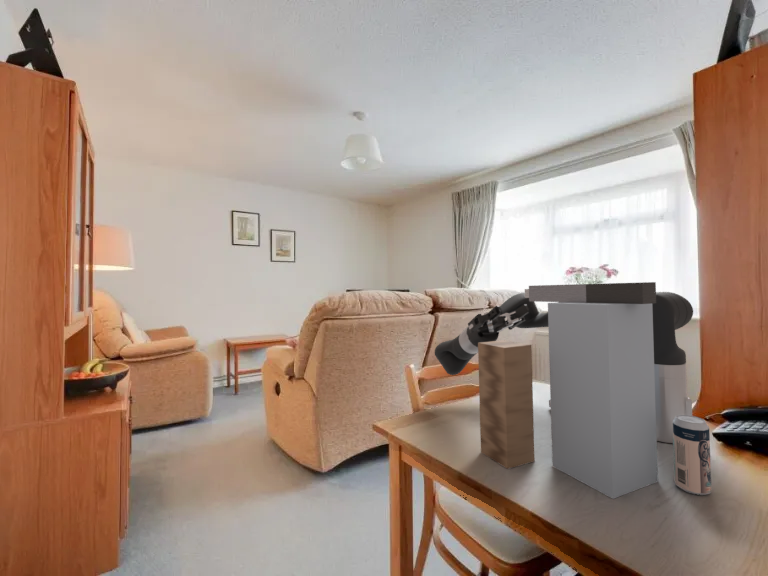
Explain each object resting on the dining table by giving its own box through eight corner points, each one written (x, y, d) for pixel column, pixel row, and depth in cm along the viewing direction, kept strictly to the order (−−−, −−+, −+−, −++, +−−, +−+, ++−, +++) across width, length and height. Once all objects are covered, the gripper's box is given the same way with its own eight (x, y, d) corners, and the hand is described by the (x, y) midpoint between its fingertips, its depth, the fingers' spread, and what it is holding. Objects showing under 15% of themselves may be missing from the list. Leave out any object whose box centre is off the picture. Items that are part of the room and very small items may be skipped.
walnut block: (480, 452, 76) (477, 342, 76) (506, 445, 79) (503, 340, 79) (507, 468, 69) (504, 347, 69) (534, 461, 72) (531, 344, 72)
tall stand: (594, 453, 74) (590, 300, 74) (657, 481, 63) (652, 301, 63) (552, 466, 69) (547, 302, 70) (612, 498, 58) (607, 304, 59)
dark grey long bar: (522, 301, 81) (522, 285, 81) (533, 300, 83) (533, 285, 83) (642, 304, 58) (642, 282, 58) (656, 303, 59) (655, 282, 59)
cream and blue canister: (714, 500, 57) (712, 426, 57) (676, 492, 60) (674, 421, 60) (707, 486, 61) (705, 416, 61) (672, 478, 64) (670, 412, 64)
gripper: (503, 346, 100) (542, 320, 87) (460, 351, 94) (496, 324, 81) (493, 322, 103) (529, 294, 90) (452, 325, 98) (484, 295, 85)
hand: (513, 308), depth 86 cm, fingers open, 8 cm apart
